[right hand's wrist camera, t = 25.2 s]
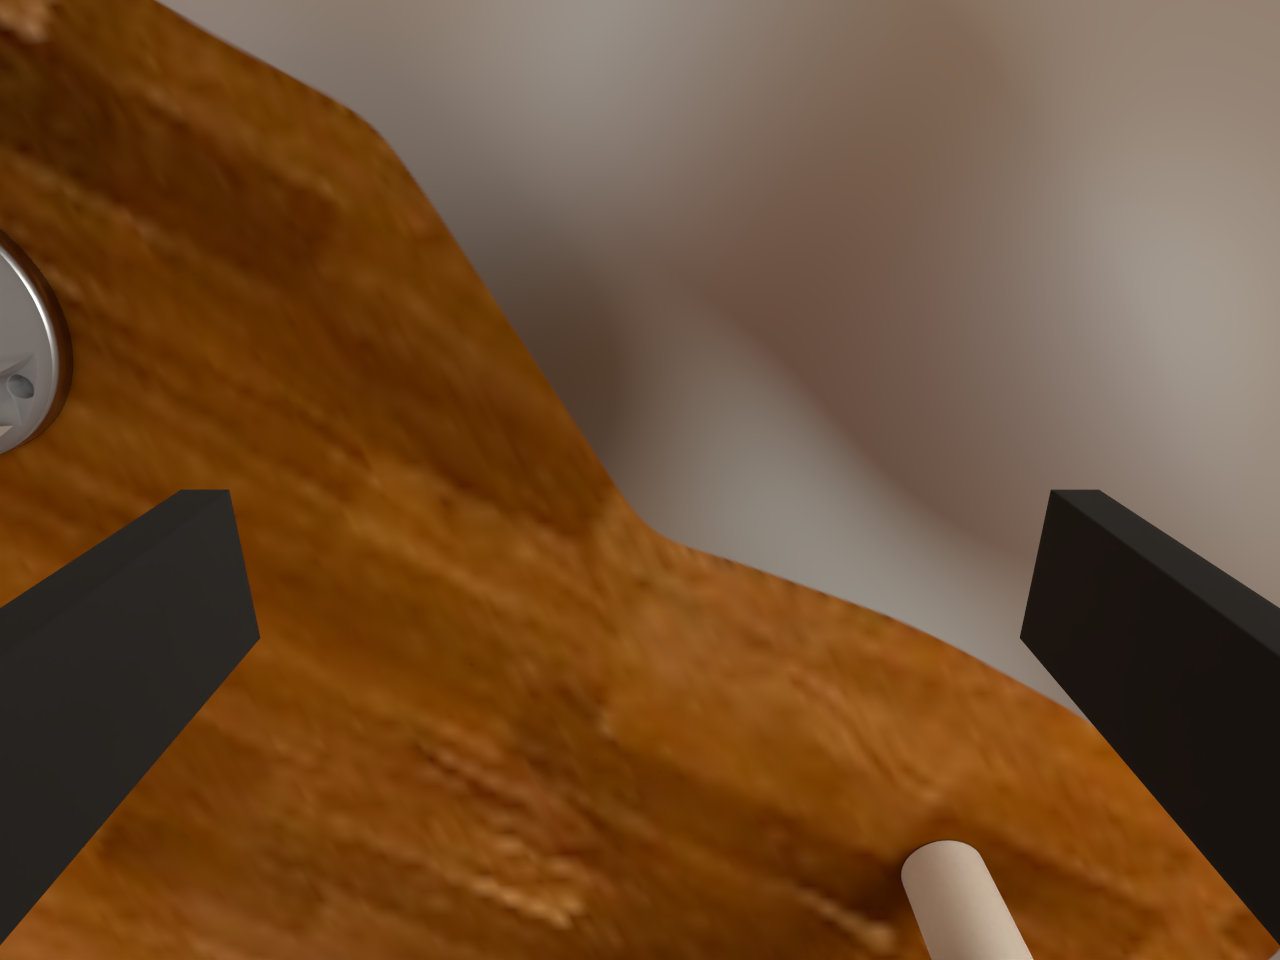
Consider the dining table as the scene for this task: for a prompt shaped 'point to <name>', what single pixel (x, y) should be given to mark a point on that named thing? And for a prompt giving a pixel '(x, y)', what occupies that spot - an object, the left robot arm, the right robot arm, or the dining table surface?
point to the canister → (959, 905)
